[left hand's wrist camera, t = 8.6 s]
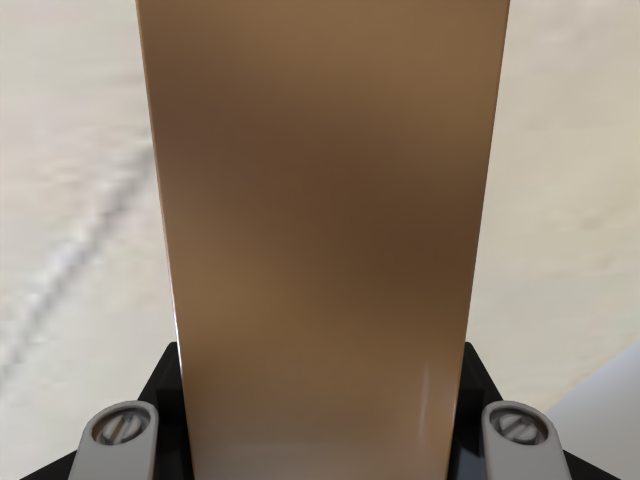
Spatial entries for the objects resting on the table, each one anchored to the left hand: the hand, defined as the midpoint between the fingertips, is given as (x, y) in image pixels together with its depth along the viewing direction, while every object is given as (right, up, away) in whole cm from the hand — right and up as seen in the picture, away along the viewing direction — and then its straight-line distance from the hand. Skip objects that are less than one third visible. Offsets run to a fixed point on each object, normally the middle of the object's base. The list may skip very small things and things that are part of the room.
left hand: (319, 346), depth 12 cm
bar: (0, +27, -8) cm, 28 cm away
